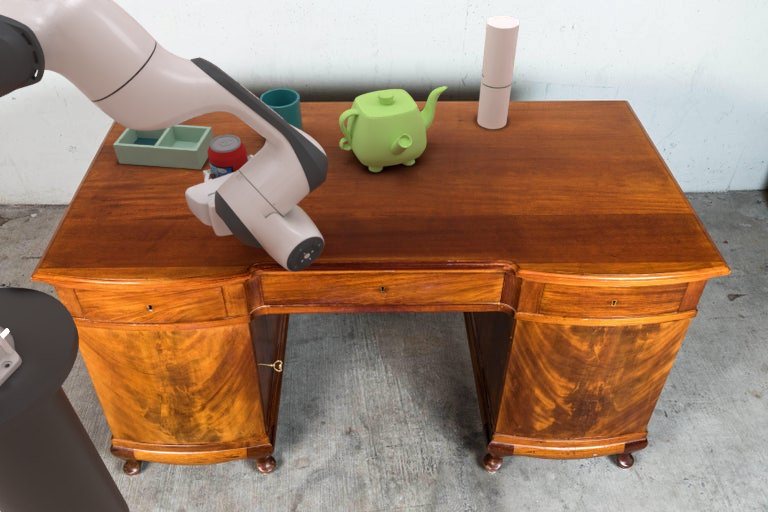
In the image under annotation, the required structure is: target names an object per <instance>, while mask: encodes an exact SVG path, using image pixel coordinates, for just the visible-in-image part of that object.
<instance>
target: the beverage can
mask: <svg viewBox="0 0 768 512" xmlns="http://www.w3.org/2000/svg"><path fill="white" fill-rule="evenodd" d="M207 153H208V158H207V159H208V163H209V167H210V168H209V169H211V170H212V171H213V172H214V175H215V176H214V177H215V178H218V177H221V176H224V175H227V174H230V173H233V172H236V171H237V170H239V169H240V168H241V167H242V166H243V165H244V164H245V163H247V162H248V157H247V156H248V153H247V147H246V146H245V144H244V143H243V142H242V140H241V138H240V137H239V136H237V135H236V134H235V135H234V134H220V135H218V136H214V139H212V140H211V142H210V146H209V149H208V152H207Z"/></svg>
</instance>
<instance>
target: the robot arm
mask: <svg viewBox="0 0 768 512" xmlns="http://www.w3.org/2000/svg"><path fill="white" fill-rule="evenodd" d="M45 71H50V72H54V73H56V74H58V75H60V76H62V77H63V78H65V79H66V80H67V81H69V82H70V83H71V84H72V85H73V86H74V87H75V88H76V89H77V90H78V91H80V93H82V94H83V95H84V96H85V97H86V98H87V99H88V100H89V101H90V102H91V103H92V104H94V106H96V107H97V108H98V109H99V110H100V111H101V112H103V113H104V114H105V115H107V116H108V117H109V118H110V119H112V120H113V121H114V122H116V123H118V124H119V125H121V126H122V127H124V128H125V129H126V128H129V129H133V130H139V131H154V130H161V129H165V128H169V127H172V126H175V125H181V124H183V123H185V122H187V121H189V120H191V119H195V118H198V117H200V116H203V115H207V114H212V113H218V112H219V113H220V112H222V113H223V112H224V113H228V114H231V115H233V116H235V117H237V118H238V119H239V120H240V121H242V122H243V123H244V124H245V125H247V126H248V127H249V128H251V130H253V131H255V132H256V133H257V134H259V135H260V136H261V137H263V138H264V139H265V142H264V145H263V146H262V147H261V148H260V149H259V150H258V151H257V152H256V153H255V154H254V155H253V154H249V155H247V157H248V162H247V163H245V164H244V165H243V166H242V167H241V168H240V169H239V170H237V171H236V172H233V173H230V174H227V175H224V176H221V177H218V178H215V177H214V176H215V175H214V172H213V171H212V170H211V168H209V169H205V170H202V174H203V179H204V180H203V182H201V183H197V184H195V185H193V186H190V187H187V189H186V190H185V192H184V197H185V201H186V204H187V207H188V209H189V211H190V212H191V213H192V214H193V215H194V216H195V217H196V218H197V219H198V220H199V221H200V222H201V223H202V224H204V225H206V226H207V227H208V226H209V227H212V230H213V232H214V234H215V235H216V236H218V237H226V236H232V235H233V236H234V237H235V238H236V239H237V240H238V241H239V242H240V243H242V244H243V245H245V246H247V247H251V248H257V249H263V250H265V252H266V253H267V254H268V255H269V256H270V257H271V258H272V259H273V260H274V261H275V262H277V264H279V265H280V266H281V267H283V269H285V270H287V271H288V272H292V273H296V272H301V271H303V270H305V269H307V268H308V267H310V266H311V265H312V264H314V262H315V261H316V260H318V258H319V257H320V256H321V255H322V252H323V251H324V248H325V239H324V237H323V235H322V232H321V231H320V229H318V227H317V225H316V224H315V223H314V221H313V220H312V219H311V217H310V216H309V215H308V213H306V212H305V210H304V209H303V208H302V207H301V206H299V205H298V204H299V203H300V202H301V201H302V200H303V199H304V198H305V197H307V195H310V194H312V193H313V192H315V190H316V189H318V188H319V187H320V186H321V185H323V184H324V183H325V182H326V181H327V176H328V171H329V157H328V156H327V153H326V152H325V149H324V148H323V146H322V145H321V144H320V143H319V142H318V141H316V139H315V138H313V136H311V135H310V134H308V133H307V132H305V131H304V130H303V131H301V130H300V129H298V128H296V127H294V126H292V125H290V124H289V123H287V122H286V121H285V120H284V119H283V118H282V117H281V116H280V115H279V114H277V113H276V112H275V111H273V110H272V109H271V108H270V107H269V106H267V105H266V104H265V103H264V102H262V101H261V100H260V97H258V96H257V95H255V94H254V93H252V92H251V91H250V90H249V89H248V88H246V87H245V86H244V85H243V84H242V83H240V82H238V81H237V80H235V79H234V78H233V77H232V76H230V75H229V74H228V73H226V72H225V71H224V70H222V68H220V67H219V66H218V65H216V64H214V63H213V62H211V61H209V60H207V59H206V58H203V57H200V56H199V57H193V58H190V59H188V58H184V57H181V56H179V55H176V54H174V53H172V52H170V51H169V50H168V49H166V48H165V47H163V46H162V45H161V44H160V43H159V42H158V41H157V40H156V39H155V38H154V37H153V35H151V34H150V32H149V31H148V30H147V29H145V27H143V25H142V24H140V23H139V21H137V20H136V19H135V17H133V16H132V15H130V13H129V12H128V11H126V9H124V8H123V7H121V6H120V5H119V4H118V3H116V1H114V0H0V98H3V97H5V96H7V95H9V94H11V93H13V92H15V91H16V90H19V89H23V88H27V87H30V86H33V85H35V84H38V83H40V82H41V81H42V79H43V77H44V74H45ZM21 363H22V359H21V357H20V356H19V355H18V354H17V352H16V351H15V345H14V339H13V337H12V335H11V334H10V333H9V330H8V329H3V328H2V327H1V326H0V386H1V385H2V384H3V383H4V382H5V381H6V379H7V378H8V377H9V376H10V375H11V374H12V373H13V372H14V371H15V370H16V369H17V368H18V367H19V366H20V365H21Z"/></svg>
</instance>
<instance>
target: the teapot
mask: <svg viewBox="0 0 768 512" xmlns="http://www.w3.org/2000/svg"><path fill="white" fill-rule="evenodd" d="M447 89H448V86H447V85H442V86H439V87H436V88H434V89H433V90H431V92H430V93H429V95H428V97H427V100H426V103H425V105H424V108H423V109H422V110H421V111H420V109H419V106H418V104H417V103H416V101H415V100H414V98H413V97H412V96H411V94H409V93H408V91H406V90H405V89H402V88H390V89H389V88H388V89H381V90H375V91H371V92H370V91H369V92H367V93H363V94H361V95H358V96H356V97H355V99H354V100H353V102H352V105H351V108H349V109H346V110H344V111H343V112H342V113H341V114H340V116H339V117H338V118H339V119H338V125H339V128H340V130H341V132H342V134H343V136H344V137H342V138H341V139H340V140H339V143H338V145H339V148H340V149H341V150H342V151H344V152H345V151H346V152H349V151H352V152H353V153H354V155H355V156H356V158H357V159H358V161H359V162H360V163H361V164H362V165H363V166H366V167H368V170H369V171H370V172H372V173H378V172H381V171H382V170H383V169H384V167H389V166H395V165H400V164H402V165H404V166H412V165H414V164H415V163H416V161H415V160H416V159H418V158H420V156H422V154H423V153H424V151H425V150H426V147H427V143H428V141H427V130H429V128H430V127H431V126H432V124H433V122H434V119H435V113H436V107H437V102H438V99H439V97H440V95H441V94H443V93H444V92H445V91H447ZM346 120H347V122H346ZM345 122H346V123H345ZM345 124H346V125H345ZM346 142H347V143H346ZM345 143H346V144H345Z"/></svg>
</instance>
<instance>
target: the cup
mask: <svg viewBox="0 0 768 512" xmlns="http://www.w3.org/2000/svg"><path fill="white" fill-rule="evenodd" d="M259 99H260V100H261V101H262V102H264V103H265V104H266V105H267V106H269V107H270V108H271V109H272V110H273V111H275V112H276V113H277V114H279V115H280V116H281V117H282V118H283V119H284V120H285V121H286V122H287V123H289V124H290V125H292V126H294V127H296V128H298V129H300V130H301V131H303V132H304V125H303V117H302V105H301V97H300V93H298V91H296V90H294V89H291V88H285V87H283V88H280V87H279V88H273V89H270V90H267V91H265V92H264V93H262V94H261V95H260V97H259Z"/></svg>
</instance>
